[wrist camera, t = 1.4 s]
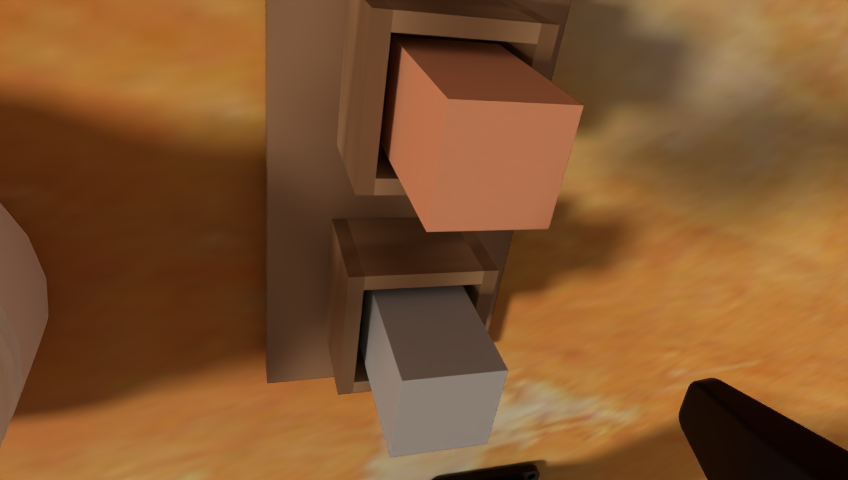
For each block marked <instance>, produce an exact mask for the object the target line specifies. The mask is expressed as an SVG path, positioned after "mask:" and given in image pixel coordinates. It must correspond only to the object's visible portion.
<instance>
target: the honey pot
mask: <svg viewBox="0 0 848 480" xmlns="http://www.w3.org/2000/svg"><path fill="white" fill-rule="evenodd" d="M48 318H49V315H48V299H47V283H46V276H45V274H44V272H43V270H42V267H41V265H40V263H39V260H38V258H37V256H36V253H35V251H34V249H33V247H32V244H31V242H30V240H29V237H28V235H27V234H26V233H25V232H24V231H23V229H22V228H21V227H20V226H19V225H18V223H17V222H16V221H15V220H14V219H13V217H12V216H11V215H10V214H9V213H8V211H7V210H6V209H5V208H4V207H3V205H2V204H1V203H0V446H1V443H2V441H3V440H4V438H5V435H6V432H7V429H8V426H9V423H10V422H11V419H12V417H13V414H14V411H15V409H16V406H17V404H18V401H19V398H20V396H21V393H22V390H23V388H24V385H25V382H26V380H27V377H28V374H29V372H30V369H31V367H32V364H33V361H34V359H35V356H36V353H37V350H38V347H39V344H40V342H41V339H42V336H43V333H44V330H45V327H46V324H47V321H48Z"/></svg>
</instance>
